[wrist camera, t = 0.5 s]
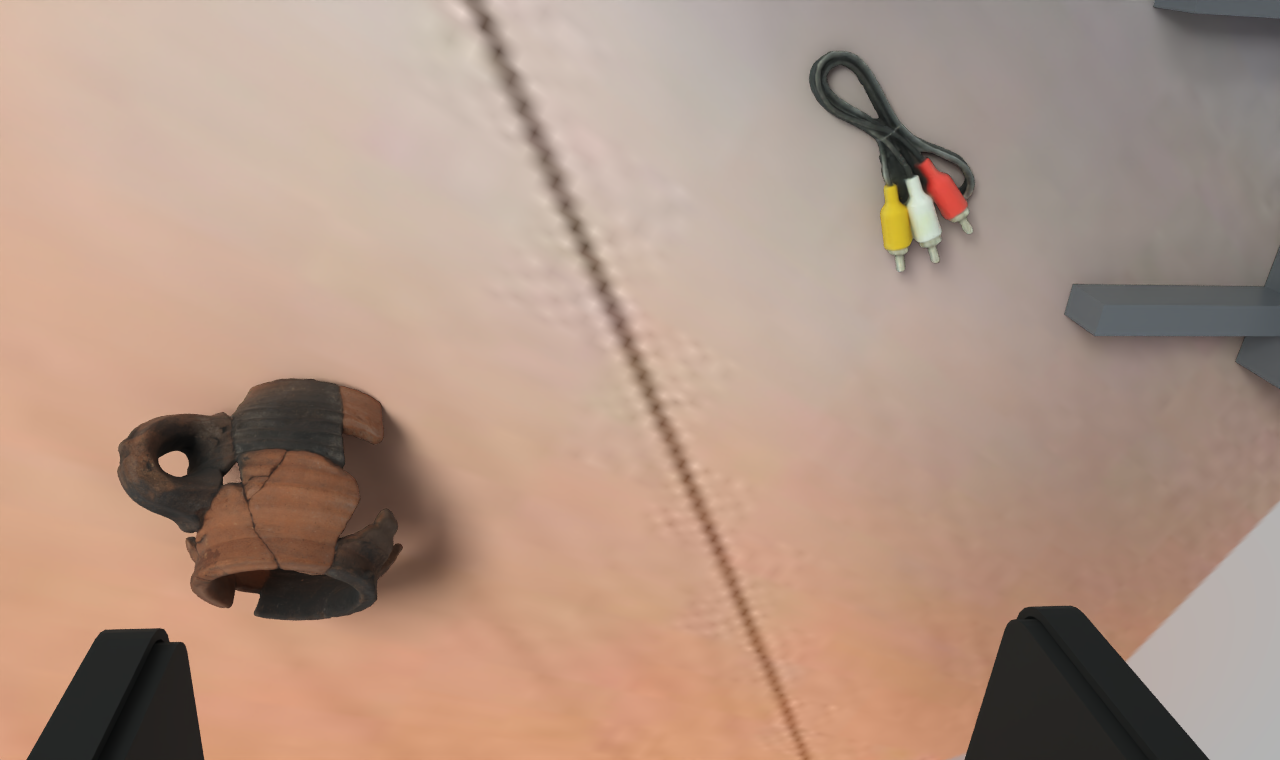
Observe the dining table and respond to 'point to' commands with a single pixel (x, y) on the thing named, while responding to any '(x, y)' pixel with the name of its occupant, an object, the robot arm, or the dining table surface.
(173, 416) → the pottery mug
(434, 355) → the dining table surface
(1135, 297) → the dock
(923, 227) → the composite cable
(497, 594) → the dining table surface
